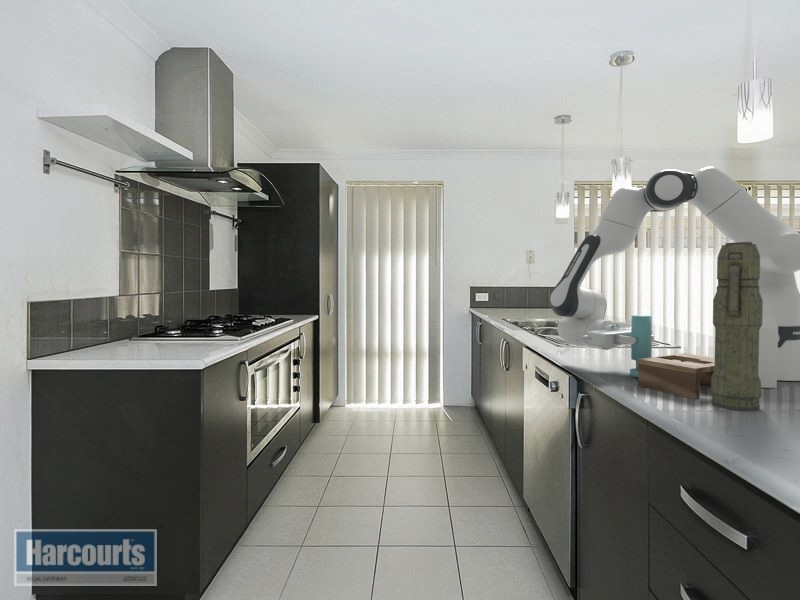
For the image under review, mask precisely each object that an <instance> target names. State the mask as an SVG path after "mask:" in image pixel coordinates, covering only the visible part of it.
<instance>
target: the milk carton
mask: <svg viewBox="0 0 800 600" xmlns="http://www.w3.org/2000/svg"><path fill="white" fill-rule="evenodd" d="M777 353H778V327H777V325H776V323H775V321H774V319H773V317H772V316H771V311H763V313H762V326H761V328H760V330H759V365H758V376H759V378H760V381H761V389H762V388H765V389H766V388H767V389H777V385H778V383H777V382H778V380H777Z"/></svg>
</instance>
